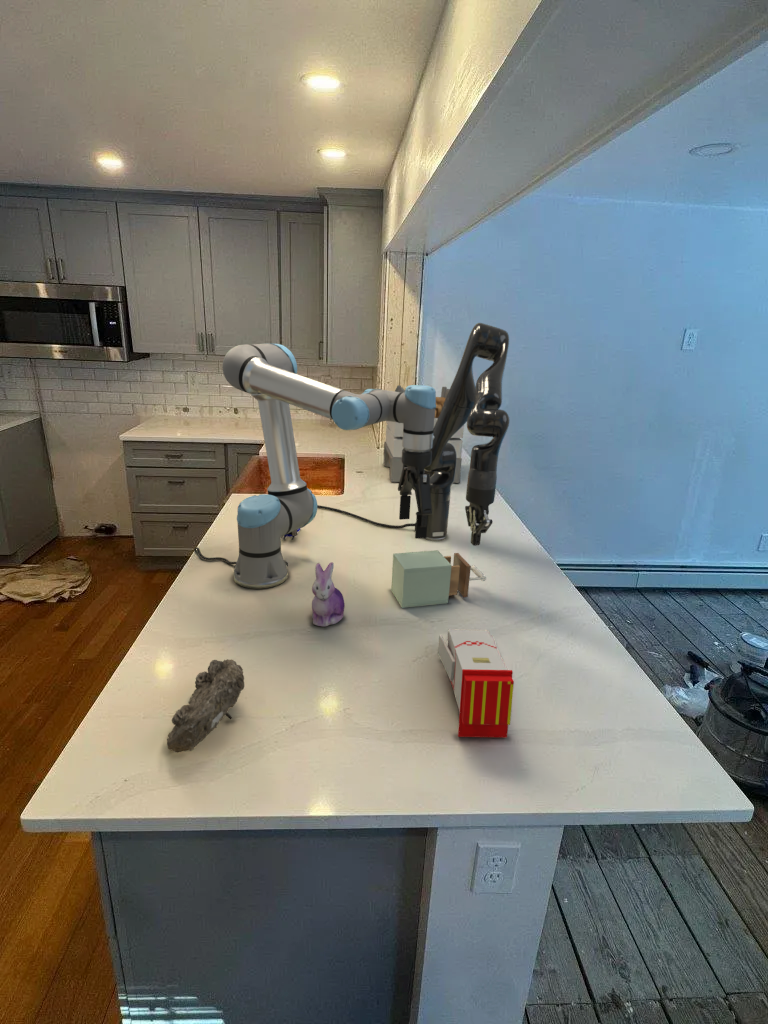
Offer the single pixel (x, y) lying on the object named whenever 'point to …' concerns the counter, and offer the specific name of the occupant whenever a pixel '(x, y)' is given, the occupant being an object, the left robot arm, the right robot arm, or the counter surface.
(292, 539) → the figurine character
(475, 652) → the toy
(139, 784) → the counter surface
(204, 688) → the fossil
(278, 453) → the left robot arm
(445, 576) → the sage green cube
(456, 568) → the drawer
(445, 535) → the right robot arm
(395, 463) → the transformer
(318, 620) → the figurine
